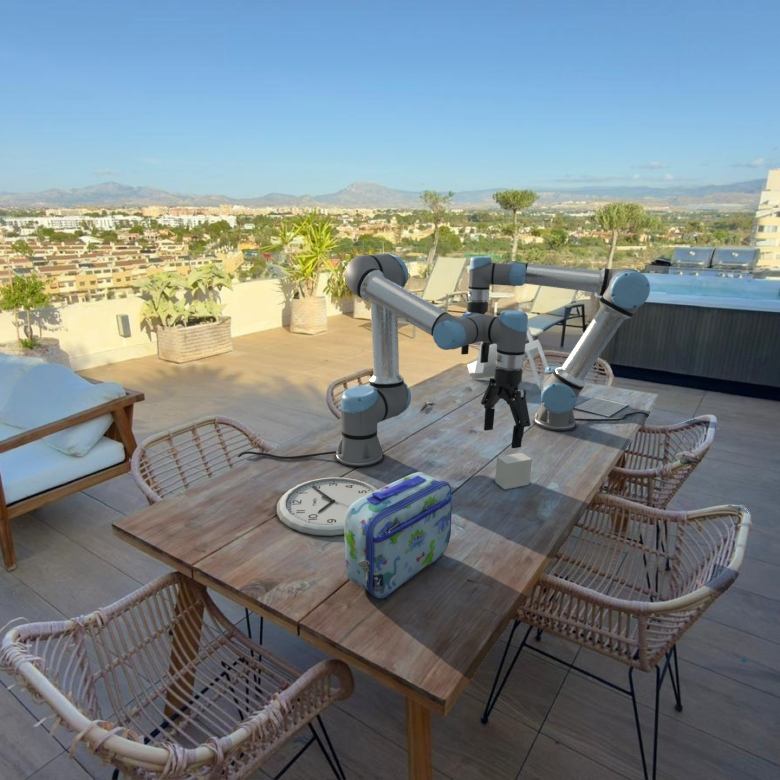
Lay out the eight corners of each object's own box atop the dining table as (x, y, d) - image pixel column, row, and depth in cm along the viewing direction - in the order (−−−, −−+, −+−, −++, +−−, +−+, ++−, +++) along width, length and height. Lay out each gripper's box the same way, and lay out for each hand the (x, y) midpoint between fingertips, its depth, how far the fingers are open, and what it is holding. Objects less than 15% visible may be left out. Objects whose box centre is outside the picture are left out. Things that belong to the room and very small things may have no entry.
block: (495, 482, 158) (497, 456, 155) (519, 477, 161) (521, 452, 158) (504, 489, 153) (507, 463, 151) (529, 484, 156) (531, 459, 154)
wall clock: (392, 527, 129) (268, 531, 127) (391, 533, 130) (269, 537, 127) (383, 473, 158) (282, 475, 155) (383, 478, 158) (282, 480, 156)
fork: (417, 411, 216) (418, 406, 216) (428, 400, 231) (428, 395, 230) (423, 412, 215) (424, 407, 215) (434, 400, 230) (434, 396, 229)
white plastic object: (488, 421, 263) (468, 398, 238) (469, 347, 285) (449, 320, 260) (560, 397, 251) (547, 370, 226) (534, 322, 273) (519, 290, 248)
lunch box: (372, 611, 103) (373, 518, 97) (338, 585, 111) (336, 497, 104) (455, 557, 121) (460, 475, 115) (420, 537, 128) (424, 459, 122)
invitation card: (608, 416, 214) (573, 407, 224) (608, 416, 214) (573, 408, 224) (628, 404, 229) (594, 396, 238) (628, 405, 229) (594, 397, 238)
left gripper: (472, 357, 154) (467, 424, 160) (526, 381, 132) (517, 457, 139) (494, 355, 157) (488, 421, 163) (549, 378, 135) (540, 453, 142)
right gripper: (451, 296, 198) (448, 351, 204) (488, 306, 176) (483, 367, 182) (468, 296, 200) (465, 350, 207) (506, 305, 178) (501, 365, 185)
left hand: (501, 438), depth 151 cm, fingers open, 13 cm apart
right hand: (474, 358), depth 194 cm, fingers open, 13 cm apart
